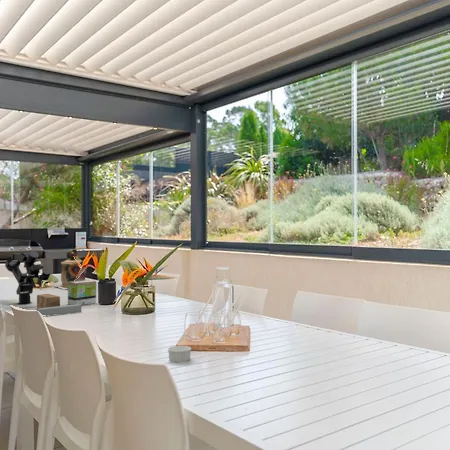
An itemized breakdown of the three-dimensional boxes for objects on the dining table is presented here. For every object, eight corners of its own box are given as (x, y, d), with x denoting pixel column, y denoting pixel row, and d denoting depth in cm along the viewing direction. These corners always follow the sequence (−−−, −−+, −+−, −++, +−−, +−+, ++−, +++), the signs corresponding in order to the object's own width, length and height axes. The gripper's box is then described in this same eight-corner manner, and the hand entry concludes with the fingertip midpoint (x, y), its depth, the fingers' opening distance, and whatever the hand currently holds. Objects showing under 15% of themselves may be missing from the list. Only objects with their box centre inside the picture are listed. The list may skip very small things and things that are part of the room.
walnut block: (37, 309, 290) (37, 295, 290) (48, 308, 294) (48, 293, 294) (48, 313, 278) (48, 297, 278) (60, 311, 283) (59, 296, 283)
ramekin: (163, 360, 183) (163, 348, 183) (179, 355, 190) (179, 344, 190) (180, 364, 177) (180, 352, 177) (196, 359, 184) (196, 347, 184)
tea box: (76, 306, 301) (76, 282, 301) (67, 304, 307) (67, 281, 307) (96, 303, 313) (96, 280, 313) (87, 301, 319) (86, 279, 319)
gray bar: (39, 317, 266) (39, 309, 266) (37, 316, 269) (37, 308, 269) (81, 312, 281) (81, 305, 281) (78, 311, 284) (78, 304, 284)
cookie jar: (52, 287, 392) (52, 248, 392) (80, 284, 409) (80, 247, 409) (65, 290, 374) (65, 249, 374) (94, 287, 391) (94, 248, 391)
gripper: (19, 260, 294) (26, 280, 286) (49, 258, 307) (56, 277, 299) (14, 272, 299) (21, 291, 291) (43, 270, 312) (51, 288, 304)
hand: (38, 287), depth 296 cm, fingers open, 3 cm apart
